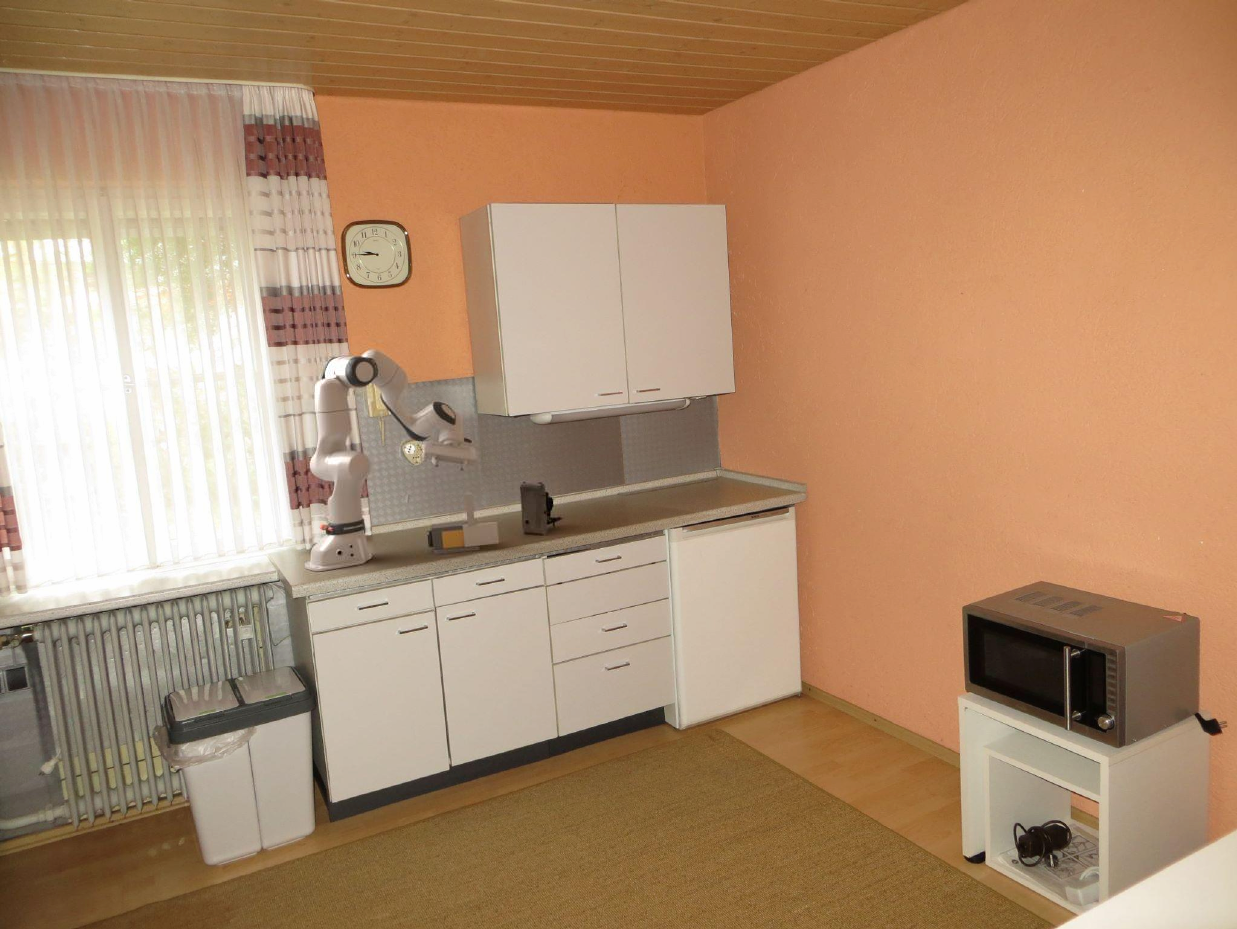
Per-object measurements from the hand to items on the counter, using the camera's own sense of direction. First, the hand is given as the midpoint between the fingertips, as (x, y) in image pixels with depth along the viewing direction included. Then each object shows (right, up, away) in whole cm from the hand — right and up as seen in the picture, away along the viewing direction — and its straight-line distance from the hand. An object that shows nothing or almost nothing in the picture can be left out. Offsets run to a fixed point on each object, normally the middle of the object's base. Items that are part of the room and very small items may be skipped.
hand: (449, 467), depth 328 cm
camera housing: (+3, -29, -6) cm, 30 cm away
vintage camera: (+33, -24, +15) cm, 44 cm away
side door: (+13, -27, -9) cm, 32 cm away
